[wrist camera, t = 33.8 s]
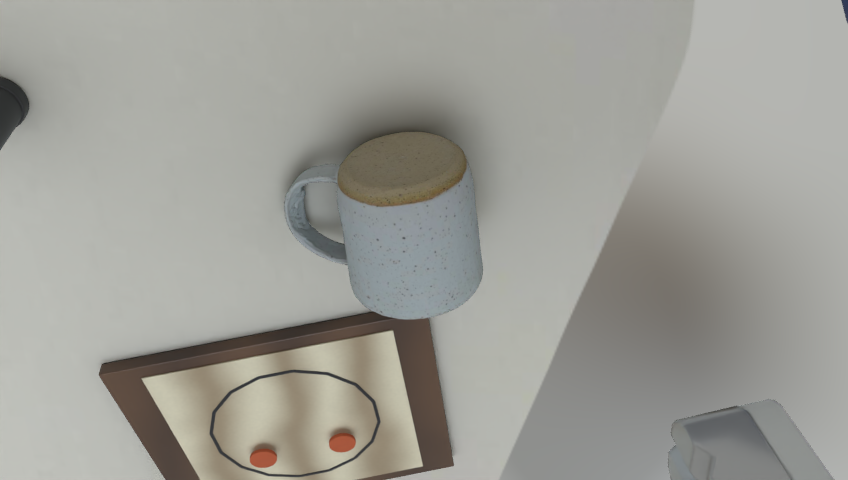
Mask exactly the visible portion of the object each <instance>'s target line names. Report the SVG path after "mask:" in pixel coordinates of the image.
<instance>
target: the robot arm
mask: <svg viewBox="0 0 848 480" xmlns="http://www.w3.org/2000/svg"><path fill="white" fill-rule="evenodd" d="M671 436H672V438H673V440H674V442H675V444H676V445H675V446H674V447H673V448H672V449H671V450H670V451H669V455H668V468H669V473H670V478H671V480H834V479H833V477H832V476H831V475H830V473H829V472H828V470H827V469H826V467H825V466H824V465H823V463H822V462H821V460H820V459H819V457H818V456H817V455H816V453H815V452H814V450H813V449H812V448H811V446H810V445H809V443H808V442H807V440H806V439H805V438H804V436H803V435H802V433H801V432H800V430H799V429H798V428H797V426H796V425H795V424H794V422H793V421H792V419H791V418H790V416H789V415H788V413H787V412H786V411H785V409H784V408H783V406H782V405H781V404H779V403H778V402H777V401H775V400H771V399H767V400H763V401H759V402H754V403H750V404H745V405H741V406H734V407H729V408H726V409H721V410H717V411H713V412H708V413H704V414H700V415H696V416H692V417H688V418H684V419H679V420H676V421H675V422H674V423H673V424H672V429H671Z"/></svg>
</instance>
